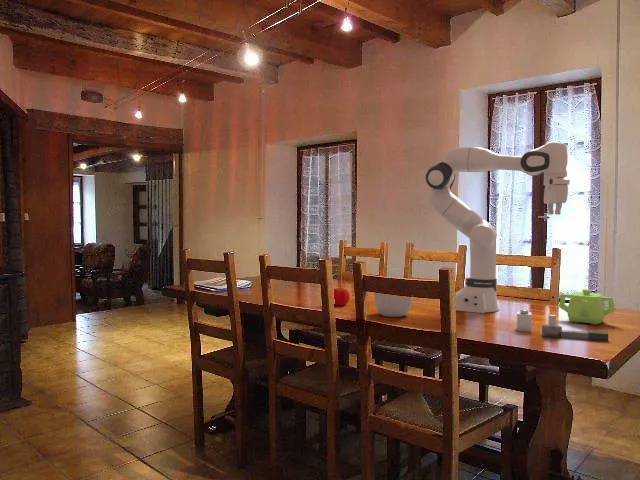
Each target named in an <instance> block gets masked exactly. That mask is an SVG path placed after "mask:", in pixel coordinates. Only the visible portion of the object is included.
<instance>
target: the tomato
mask: <svg viewBox="0 0 640 480" xmlns="http://www.w3.org/2000/svg"><path fill="white" fill-rule="evenodd" d="M333 289H334V299H335V305H334V306H338V307H340V306H341V307H343V306H346V305H347V304H348V303H349V301H350V299H351V295H350V291H348V290H347V288H342V287H338V288H337V287H335V288H333Z"/></svg>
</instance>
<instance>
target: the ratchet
mask: <svg viewBox="0 0 640 480" xmlns="http://www.w3.org/2000/svg"><path fill="white" fill-rule="evenodd" d="M556 317H557V316H556V314H548V324H542V325H541V336H542V337H543V338H545V339H546V338H547V339H571V340H572V339H573V340H585V341H587V340H588V341H597V342H599V341H600V342H609V333H608V332H607V331H595V330H594V331H593V330H587V331H581V330H579V331H578V330H567V329H563V328H562V327H563V326H561V325H557V324H556V323H557V322H556V321H557V320H556Z"/></svg>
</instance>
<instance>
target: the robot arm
mask: <svg viewBox="0 0 640 480" xmlns="http://www.w3.org/2000/svg"><path fill="white" fill-rule="evenodd" d="M568 155H569V154H568V147H567V146H566V145H565V144H564V143H562V142H557V141H549V142H546V143H545V144H544V145H542V146H540V147H538V148H534V149H532V150H529V151H527V152H525V153H524V154H523V155H521V156H518V155H502V154H498V153H495V152H493V151H491V150H490V149H488V148H482V147H476V146H458V147H453V148H450V149H448V150H447V151H446V153H445V156H444V161H441V162H438V163H437V164H435V165H433V166H431V167H429V168H428V170H427V172H426V174H425V182H426V184H427V186H429V187H430V188H431V189H432V190H431V192H430V193H429V195H428V197H427V200H428V201H427V203H428V204H429V205H430V206H431V208H432V209H433V210H434V211H435V212H436V213H437V214H438V215H439V216H440V217H442V218H443V219H444V220H445V221H446V222H447V223H449V224H450V225H451V226H452V227H454V229H456V230H457V231H459V232H461V234H463V235H464V236H465V237H467V238H468V239H469V255H470V256H469V262H470V264H469V265H470V266H469V267H470V270H469V272H470V273H469V276H470V277H466V278H465V279H464V281H465V286H464V287H462V288H460V289H459V290H457V292H455V294H456V310H455V311H459V312H466V313H468V312H469V313H477V314H478V313H480V314H484V313H492V312H493V313H494V312H499V311H500V308H499V304H498V298H497V290H498V281H497V280H498V279H497V235H498V234H497V230H496V228H495V226H493V225H492V224H491V223H489V222H488V221H487V219H484V218H483V217H482V216H481V215H479V214H478V213H477V212H476V211H474V210H473V209H471V208H470V207H469V206H468V205H467V204H466V203H465V202H463V201H462V200H461V199H459V198H458V197H457V196H456V195H455V194H453V192H452V191H451V190H452V187H453V185H454V182H455V181H456V180H455V179H456V174H457V173H482V172H488V171H489V172H490V171H491V172H492V171H500V170H503V171H516V172H522V173H525V174H527V175H528V176H530V177H536V176H540V175H543V186H544V187H545V188H544V191H543V203H544V205H545V204H547V212H548V213H547V214H548V215H551V216H552V215H554V214H555V215H556V216H557V215H558V216H560V215H561V211H562V207H563V204H566V203H567V200H568V195H569V193H568V192H569V186H568V185H570V182H571V181H570V178H568V172H567V166H568V161H569V160H568ZM554 205H555V210H554Z"/></svg>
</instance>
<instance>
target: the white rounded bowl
mask: <svg viewBox="0 0 640 480" xmlns="http://www.w3.org/2000/svg"><path fill="white" fill-rule="evenodd" d="M373 295H374V297H373V298H374V306H375V309H376V311H377V312H378V313H379V314H380V315H381V316H383V317H387V318H399V317H403V316H406V315H407V314H409V312H410V311H411V308H412V305H413V296H412V297H404V296H396V295H387V294H379V293H374V292H373Z"/></svg>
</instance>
